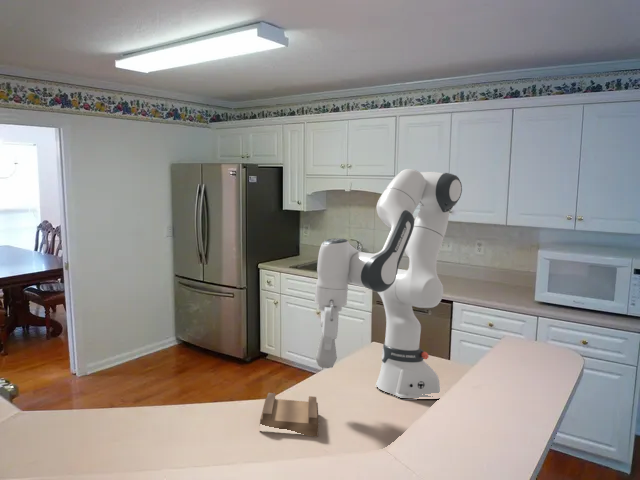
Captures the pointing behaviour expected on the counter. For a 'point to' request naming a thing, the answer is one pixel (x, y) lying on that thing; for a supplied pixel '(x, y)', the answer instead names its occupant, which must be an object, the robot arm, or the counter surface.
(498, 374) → the counter surface
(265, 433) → the counter surface
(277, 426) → the display stand
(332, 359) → the salt shaker
